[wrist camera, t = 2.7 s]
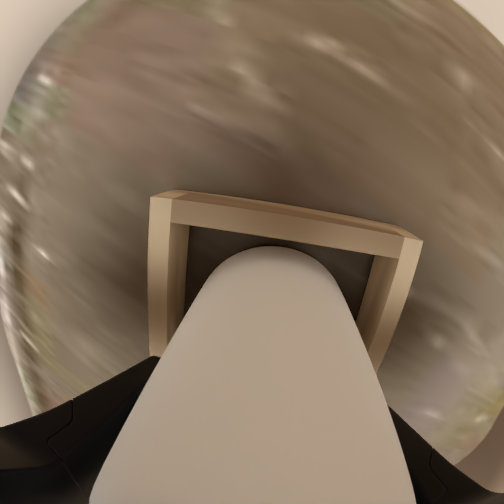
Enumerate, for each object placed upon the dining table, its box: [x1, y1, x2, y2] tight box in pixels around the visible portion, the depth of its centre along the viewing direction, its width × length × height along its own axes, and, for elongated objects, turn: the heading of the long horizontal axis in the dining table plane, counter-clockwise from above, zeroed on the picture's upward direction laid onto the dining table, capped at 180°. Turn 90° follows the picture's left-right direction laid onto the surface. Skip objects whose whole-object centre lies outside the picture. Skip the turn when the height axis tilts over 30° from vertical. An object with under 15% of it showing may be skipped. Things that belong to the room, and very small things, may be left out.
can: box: [89, 246, 416, 504], centre depth 8 cm, size 6×6×12 cm
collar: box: [148, 189, 423, 374], centre depth 12 cm, size 10×10×2 cm
